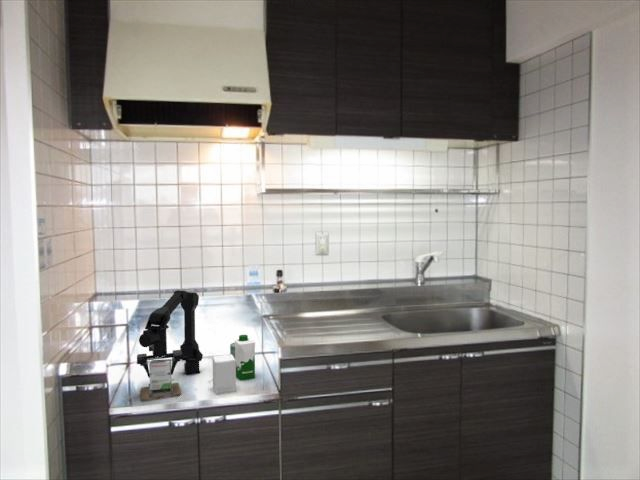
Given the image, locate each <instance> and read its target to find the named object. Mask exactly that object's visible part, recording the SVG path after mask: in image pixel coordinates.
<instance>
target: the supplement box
mask: <svg viewBox="0 0 640 480" xmlns="http://www.w3.org/2000/svg"><path fill="white" fill-rule="evenodd" d="M212 390H213V392H214V394H215V395H216V396H217V395H221V394H222V395H223V394H231V393H235V392H237V377H236V360H235V359H234V357H233V355H230V354H225V355H214V356H212Z"/></svg>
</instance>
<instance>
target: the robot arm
mask: <svg viewBox="0 0 640 480" xmlns="http://www.w3.org/2000/svg"><path fill="white" fill-rule="evenodd" d="M197 293H198V292H191V291H190V292H188V291H186V290H180V289H179V290H175V291H174V292H173V294H172V296H170V297H169V299H168V300H167V301H166V302H164V304H163V305H162V306H161V307H159V308H157V309H154V310H153V311H151V313H150V315H149V317H148V319H147V322H146V325H145V328H144V329H145V330H143V331H142V334H140V335H139V338H138V343H139V345H140V346H141V347H143V348H148V352H152V354H151V355H147V353H138V354H137V356H136V364H137V365H140V367H143V368H144V370H145V372H146V374H147V377H148V379H150V370H149V363H148V361H150V360H151V361H152V360H164V359H171V376H172V375H174V374H173V373H174V370H175V369H176V366H177V364H178V362H180V361H185V362H184V363H183V364H184V365H183V369H184V373H185V375H187V376H188V375H197V374H200V373H201V370H200V362H201V361H202V360H203V357H204V355H203V353H202V352H201V351H200V347H199V344H198V342H197V340H196V312H195V311H196V310H197V308H198V306H199V299H200V297H199V294H197ZM179 306H180V307H181V309H183V313H184V315H183V316H184V318H183V319H184V320H183V322H184V332H183V333H184V339H183V342H182V344H181V345H179V348H180V349H175V350H174V349H173V350H172V352H170V353H168V351H167V350H168V349H167V348H168V345H167V344H168V343H167V329H169V328H170V327H169V325H168V323H169V322H170V320H171V315H172V313H173V312H174V311H175V310H176V309H177V308H178V307H179Z"/></svg>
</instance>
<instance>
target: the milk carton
mask: <svg viewBox="0 0 640 480" xmlns="http://www.w3.org/2000/svg"><path fill="white" fill-rule="evenodd" d="M234 343H235V360H236V379H238V380H239V381H246V380H252V379H255V378H256V352H255V351H256V350H255V349H256V342H255V341H254V340H253V339H251V338H250V337H249V336H248V334H240V335H238V339H235V340H234Z"/></svg>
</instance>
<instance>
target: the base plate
mask: <svg viewBox="0 0 640 480" xmlns="http://www.w3.org/2000/svg"><path fill="white" fill-rule="evenodd" d="M180 395H181V396H182V391H181V388H180V384H179V382H172V386H171V388H170V389H158V390H150V383H148V386H142V387H140V398H141V399H140V400H141V401H143V402H150V401H154V400H153V399H156V400H161V399H160V398H163V399H166V398H165V397H170V398H173V397H172V396H177V397H181V396H180Z"/></svg>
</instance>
